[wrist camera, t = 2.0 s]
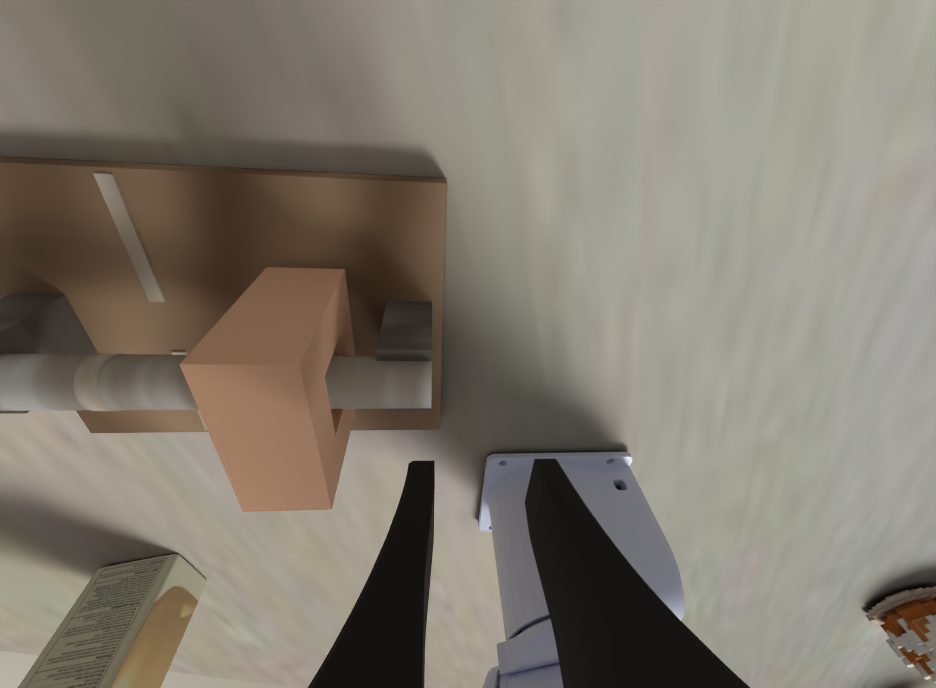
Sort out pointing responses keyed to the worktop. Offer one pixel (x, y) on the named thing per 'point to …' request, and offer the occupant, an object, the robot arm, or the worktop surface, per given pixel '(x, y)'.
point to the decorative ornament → (910, 627)
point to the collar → (277, 388)
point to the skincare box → (122, 627)
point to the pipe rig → (208, 283)
